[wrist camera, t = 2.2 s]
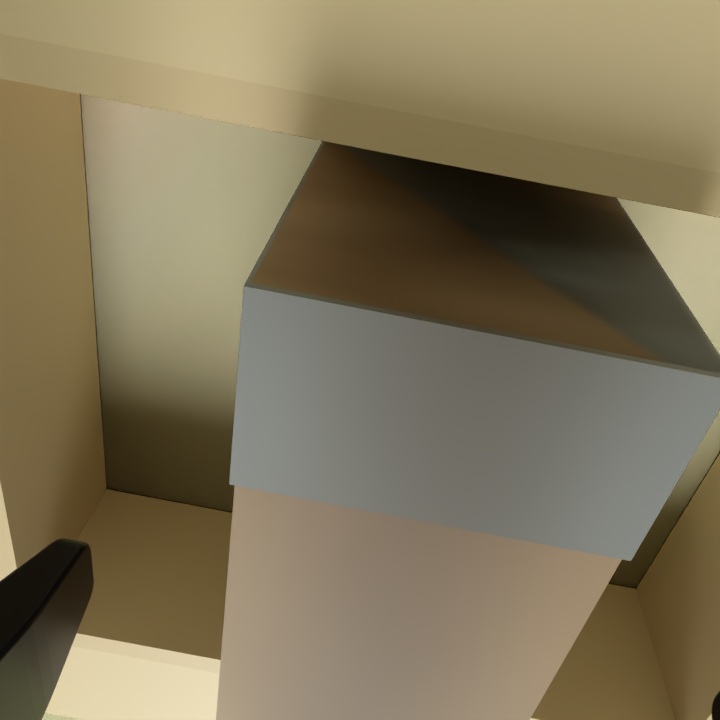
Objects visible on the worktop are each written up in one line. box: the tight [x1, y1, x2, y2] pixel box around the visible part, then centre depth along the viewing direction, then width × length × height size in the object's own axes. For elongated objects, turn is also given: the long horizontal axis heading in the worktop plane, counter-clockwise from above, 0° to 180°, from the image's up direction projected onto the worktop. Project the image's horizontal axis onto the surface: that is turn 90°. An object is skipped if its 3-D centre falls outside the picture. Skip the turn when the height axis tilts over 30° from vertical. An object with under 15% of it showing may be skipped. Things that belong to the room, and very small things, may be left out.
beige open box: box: [0, 0, 720, 720], centre depth 13 cm, size 15×18×4 cm
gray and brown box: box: [216, 141, 720, 720], centre depth 12 cm, size 5×9×6 cm, turn 171°
